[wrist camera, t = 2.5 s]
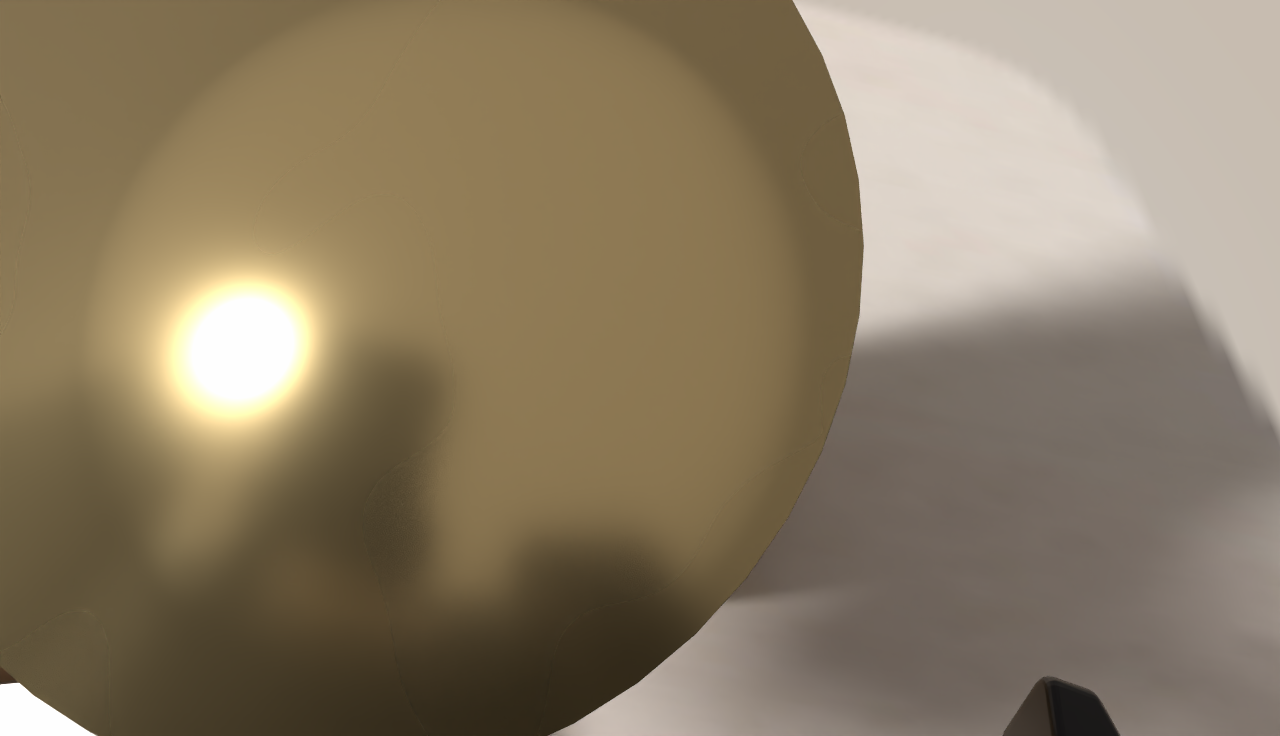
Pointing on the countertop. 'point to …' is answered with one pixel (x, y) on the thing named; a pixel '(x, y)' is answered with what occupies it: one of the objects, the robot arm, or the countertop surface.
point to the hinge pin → (403, 349)
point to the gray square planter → (32, 715)
